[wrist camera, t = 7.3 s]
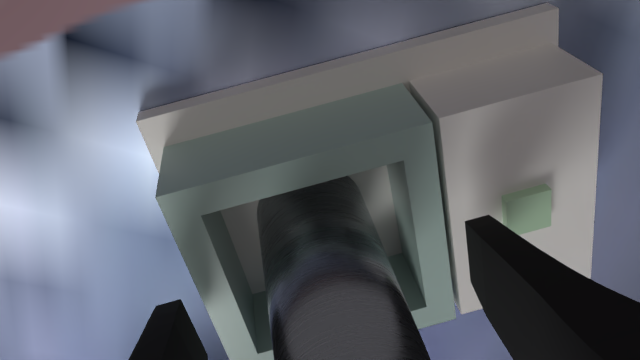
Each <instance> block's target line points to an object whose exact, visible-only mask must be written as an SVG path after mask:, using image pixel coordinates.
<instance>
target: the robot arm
mask: <svg viewBox="0 0 640 360" xmlns="http://www.w3.org/2000/svg"><path fill="white" fill-rule="evenodd" d="M465 229H466V240H467V250H468V260H469V271H470V281H471V284H472V286H473V288H474V290H475V293H476V295H477V297H478V299H479V301H480V304H481V306H482V308H483V310H484V312H485V314H486V316H487V318H488V319H489V321H490V323H491V324H492V326H493V328H494V329H495V331H496V332H497V334H498V336H499V337H500V339H501V340H502V342H503V344H504V345H505V347H506V348H507V350H508V352H509V353H510V355H511V356H512V358H513V360H640V303H639V302H637V301H635V300H632V299H630V298H628V297H626V296H624V295H622V294H619V293H617V292H615V291H613V290H611V289H609V288H606V287H604V286H602V285H600V284H598V283H596V282H595V281H593V280H591V279H589V278H587V277H585V276H584V275H582V274H580V273H578V272H576V271H575V270H573V269H571V268H569V267H568V266H566V265H564V264H563V263H561V262H559V261H558V260H556V259H555V258H553V257H551V256H550V255H548V254H547V253H545V252H543V251H542V250H540V249H539V248H537V247H536V246H534V245H533V244H531V243H530V242H528V241H527V240H525V239H524V238H522V237H521V236H519V235H518V234H516V233H515V232H513V231H512V230H510V229H509V228H508V227H506V226H505V225H503V224H502V223H500V222H499V221H498V220H496V219H495V218H493V217H492V216H490V215H486V216H482V217H478V218H475V219H471V220H467V221H465ZM129 360H208V356H207V353H206V351H205V349H204V347H203V345H202V343H201V340H200V338H199V336H198V334H197V332H196V330H195V328H194V326H193V324H192V322H191V320H190V318H189V316H188V314H187V311H186V309H185V307H184V305H183V303H182V301H181V299H180V300H176V301H172V302H169V303H165V304H161V305H158V306H156V307H155V309H154V311H153V313H152V315H151V317H150V318H149V320H148V322H147V325H146V327H145V329H144V331H143V333H142V335H141V337H140V339H139V341H138V343H137V344H136V346H135V348H134V350H133V352H132V354H131V356H130V358H129Z"/></svg>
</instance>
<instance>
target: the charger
mask: <svg viewBox="0 0 640 360" xmlns="http://www.w3.org/2000/svg"><path fill="white" fill-rule="evenodd" d="M558 38H559V8H558V7H556V6H554V5H552V4H550V3H548V2H547V3H544V4H540V5H536V6H533V7H529V8H525V9H521V10H518V11H514V12H510V13H506V14H503V15H499V16H495V17H491V18H488V19H484V20H480V21H476V22H473V23H469V24H465V25H462V26H458V27H454V28H450V29H447V30H443V31H439V32H435V33H432V34H428V35H424V36H420V37H417V38H413V39H409V40H406V41H402V42H398V43H394V44H391V45H387V46H383V47H379V48H376V49H372V50H368V51H364V52H361V53H357V54H353V55H350V56H346V57H342V58H338V59H335V60H331V61H327V62H323V63H320V64H316V65H312V66H308V67H305V68H301V69H297V70H293V71H290V72H286V73H282V74H279V75H275V76H271V77H267V78H264V79H260V80H256V81H252V82H249V83H245V84H241V85H237V86H234V87H230V88H226V89H223V90H219V91H215V92H211V93H208V94H204V95H200V96H196V97H193V98H189V99H185V100H181V101H178V102H174V103H170V104H167V105H163V106H159V107H155V108H152V109H148V110H144V111H140V112H139V113H138V116H137V120H136V122H137V125H138V127H139V129H140V132H141V134H142V136H143V138H144V141H145V143H146V145H147V148H148V150H149V152H150V154H151V157H152V159H153V161H154V163H155V166H156V168H157V170H158V173H159V179H158V185H157V191H156V200H157V202H158V204H159V206H160V208H161V211H162V213H163V215H164V217H165V219H166V222H167V224H168V226H169V228H170V230H171V233H172V235H173V237H174V239H175V241H176V244H177V246H178V248H179V250H180V252H181V255H182V257H183V259H184V261H185V263H186V266H187V268H188V270H189V272H190V274H191V277H192V279H193V281H194V283H195V285H196V288H197V290H198V292H199V294H200V296H201V298H202V301H203V303H204V305H205V307H206V309H207V312H208V314H209V316H210V318H211V320H212V323H213V325H214V327H215V329H216V331H217V334H218V336H219V338H220V340H221V342H222V345H223V347H224V349H225V351H226V353H227V356H228V358H229V360H274V356H273V347H272V339H271V331H270V322H269V314H268V306H267V298H266V289H265V281H264V273H263V265H262V256H261V248H260V240H259V231H258V223H257V207H258V203H259V200H260V199H264V198H267V197H271V196H275V195H278V194H282V193H286V192H289V191H293V190H297V189H300V188H304V187H308V186H311V185H315V184H319V183H322V182H326V181H330V180H333V179H337V178H341V177H344V176H349V177H350V178H351V179H352V180H353V181H354V182H355V183H356V185H357V186H358V188H359V190H360V192H361V194H362V197H363V199H364V202H365V204H366V206H367V209H368V211H369V214H370V216H371V218H372V221H373V223H374V226H375V228H376V230H377V233H378V235H379V238H380V240H381V242H382V245H383V247H384V249H385V252H386V254H387V257H388V259H389V261H390V264H391V266H392V269H393V271H394V273H395V276H396V278H397V281H398V283H399V285H400V288H401V290H402V292H403V295H404V297H405V300H406V302H407V304H408V307H409V309H410V312H411V314H412V316H413V319H414V321H415V324H416V326H417V328H418V329H421V328H425V327H428V326H432V325H435V324H439V323H442V322H446V321H450V320H453V319H456V314H455V306H454V301H455V303H456V305H457V307H458V309H459V311H460V313H461V314H465V313H468V312H472V311H475V310H479V309H483V308H482V306H481V304H480V301H479V299H478V297H477V295H476V293H475V290H474V288H473V286H472V284H471V281H470V271H469V260H468V250H467V240H466V229H465V221H467V220H471V219H475V218H478V217H482V216H486V215H490V216H492V217H493V218H495V219H496V220H498V221H499V222H500V223H502V224H503V225H505V226H506V227H508V228H509V229H510V230H512V231H513V232H515V233H516V234H518V235H519V236H521V237H522V238H524V239H525V240H527V241H528V242H530V243H531V244H533V245H534V246H536V247H537V248H539V249H540V250H542V251H543V252H545V253H547V254H548V255H550V256H551V257H553V258H555V259H556V260H558V261H559V262H561V263H563V264H564V265H566V266H568V267H569V268H571V269H573V270H575V271H576V272H578V273H580V274H582V275H584V276H585V277H587V278H589V279H590V278H591V264H592V247H593V230H594V214H595V197H596V180H597V164H598V147H599V130H600V114H601V97H602V80H603V74H602V73H601V72H599V71H597V70H596V69H594V68H592V67H591V66H589V65H587V64H586V63H584V62H583V61H581V60H579V59H578V58H576V57H574V56H573V55H571V54H569V53H568V52H566V51H564V50H563V49H561V48H559V47H558Z"/></svg>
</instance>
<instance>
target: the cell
mask: <svg viewBox="0 0 640 360" xmlns="http://www.w3.org/2000/svg"><path fill="white" fill-rule="evenodd" d="M257 223H258V231H259V240H260V248H261V256H262V265H263V273H264V281H265V289H266V298H267V306H268V314H269V322H270V331H271V339H272V347H273V356H274V360H431V359H430V357H429V355H428V352H427V350H426V347H425V345H424V343H423V340H422V338H421V336H420V333H419V331H418V328H417V326H416V324H415V321H414V319H413V316H412V314H411V312H410V309H409V307H408V304H407V302H406V300H405V297H404V295H403V292H402V290H401V288H400V285H399V283H398V281H397V278H396V276H395V273H394V271H393V269H392V266H391V264H390V261H389V259H388V257H387V254H386V252H385V249H384V247H383V245H382V242H381V240H380V238H379V235H378V233H377V230H376V228H375V226H374V223H373V221H372V218H371V216H370V214H369V211H368V209H367V206H366V204H365V202H364V199H363V197H362V194H361V192H360V190H359V188H358V186H357V185H356V183H355V182H354V181H353V180H352V179H351V178H350V177H349V176H344V177H341V178H337V179H333V180H330V181H326V182H322V183H319V184H315V185H311V186H308V187H304V188H300V189H297V190H293V191H289V192H286V193H282V194H278V195H275V196H271V197H267V198H264V199H260V200H259V203H258V207H257Z"/></svg>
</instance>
